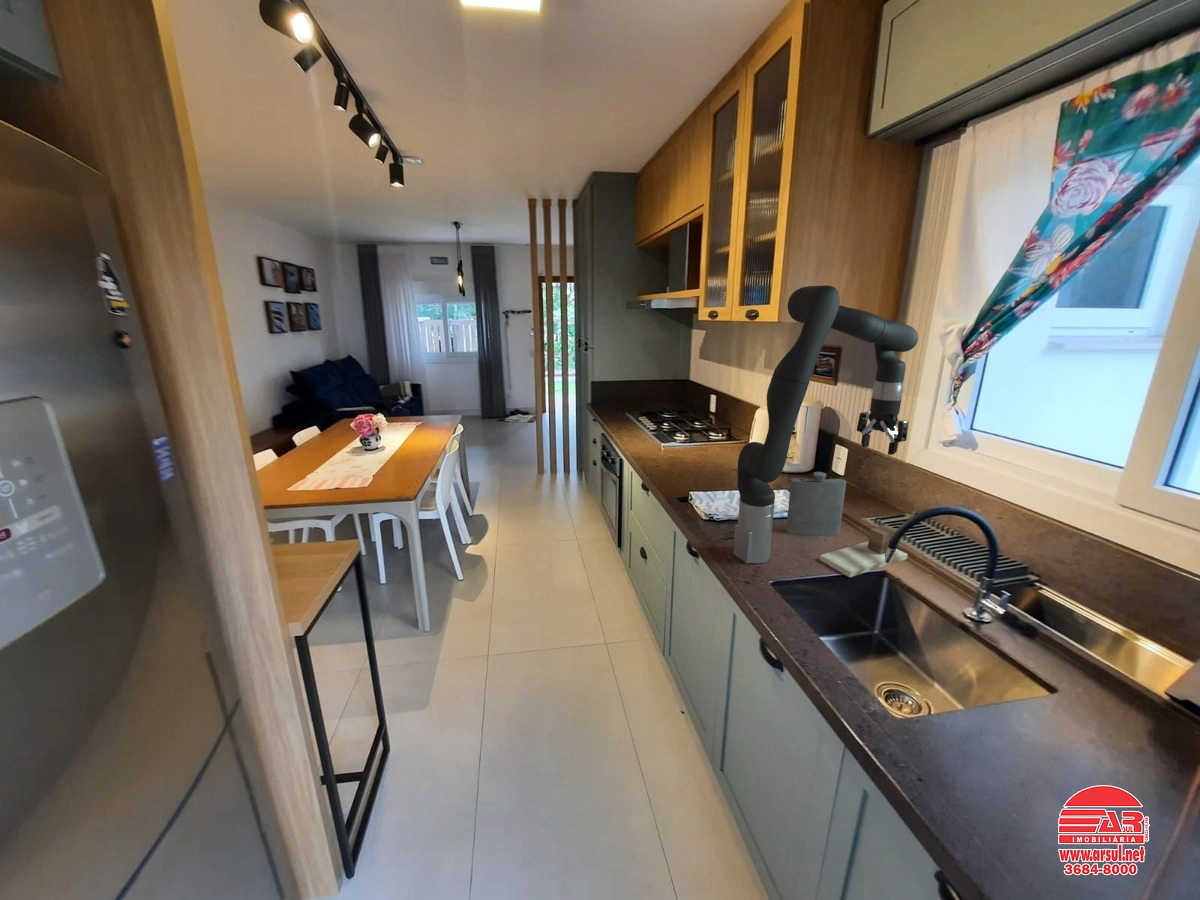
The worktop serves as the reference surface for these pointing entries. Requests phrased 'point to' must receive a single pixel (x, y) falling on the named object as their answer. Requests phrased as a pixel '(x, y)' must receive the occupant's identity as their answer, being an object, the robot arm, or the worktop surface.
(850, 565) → the birch board
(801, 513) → the hip flask
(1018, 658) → the worktop surface
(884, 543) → the block
